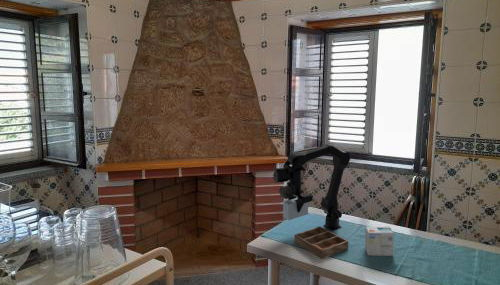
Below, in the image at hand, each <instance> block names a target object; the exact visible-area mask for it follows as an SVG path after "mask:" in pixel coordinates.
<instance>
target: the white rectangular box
mask: <svg viewBox="0 0 500 285" xmlns="http://www.w3.org/2000/svg"><path fill="white" fill-rule="evenodd" d="M297 198H298V197H296V198H295V199H291V200H288V199H287V200H285V201H283V202H282V213H283V214H282V215H283V217H282V218H283V219H286V220H287V221H290V220H291V221H292V220H294V219H297V218H301V217H303V216H307V215H309V202H307V203H304V205H303V207H302V209H301V211H300V212H299V213H298V212H297V203H296V202H295V201H294V200H297Z"/></svg>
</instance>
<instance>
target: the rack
mask: <svg viewBox="0 0 500 285" xmlns="http://www.w3.org/2000/svg"><path fill="white" fill-rule="evenodd" d="M293 236H294V243H296V244H297V245H299V246H300V247H302V248H303V249H306V251H308V252H309V253H312V254H313V255H315V256H316V257H318V258H320V259H325V258H328V257H331V256H333V255H335V254H338V253H341V252H343V251H345V250H348V249H349V240H348V239H345V238H343V237H341V236H340V235H337V234H336V233H333V232H331V231H330V230H329V229H326V228H324V227H322V226H316V227H314V228H311V229H308V230H305V231H302V232H299V233H296V234H294V235H293Z"/></svg>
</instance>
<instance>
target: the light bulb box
mask: <svg viewBox="0 0 500 285" xmlns="http://www.w3.org/2000/svg"><path fill="white" fill-rule="evenodd" d="M364 229H365V230H364V232H365V237H364V238H365V239H364V250H365V251H366V254H367V256H377V257H378V256H379V257H380V256H381V257H382V256H383V257H384V256H385V257H386V256H387V257H388V256H389V257H393V256H394V235H395V233H394V231H393V230H392V228H391V227H390V225H389V226H368V225H367V226H365V228H364Z"/></svg>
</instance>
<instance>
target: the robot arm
mask: <svg viewBox="0 0 500 285" xmlns="http://www.w3.org/2000/svg"><path fill="white" fill-rule="evenodd" d="M327 155H330V156H331V157H332V165H333V170H332V174H331V178H330V183H329V186H328V191H327V194H326V196H325V197H324V196H322V197H321V202H320V209H321V210H322V211H323V212H324V214H325V222H324V224H323V227H325V228H328V230H331V231H334V230H337V229H340V228H342V225H340V218H342V216H343V213H342V212H341V211H340V210H339V202H338V194H339V190H340V187H341V182H342V178H343V174H344V170H345V169H346V168H347V167H348V166H349V163H350V160H351V155H350V154H349V153H348V152H347V151H343V150H341V149H339V148H337V147H335V146H334V145H333V144H330V143H329V144H328V143H327V144H324V145H322V146H318V147H315V148H313V149H310V150H306V151H303V152H301V151H298V152H292V153H289V155H288V157H287V159H286V161H285V163H284V164H283V165H282V167H275V168H274V171H273V174H272V178H273V182H274V183H275V184H278V183H284V182H285V183H286V182H287V183H286V185H285V186H281V187H280V188H279V190H278V193H279V195H280V197H281V198H283V199H285V200H287V201H288V200H291V199H295V198H297V200H294V201H295V202H296V203H297V212H298V213H299V212H300V211H301V209H302V207H303V205H304V203H307V202H308V203H310V202H313V201H314V198H313V195H311V194H309V193H306V192H305V193H304V190H303V189H302V188H303V187H302V185H304V181H302V172H303V171H306V168H305V167H304V165H306V164H307V163H308V162H309V161H312V160H314V159H317V158H320V157H321V158H322V157H323V156H327Z"/></svg>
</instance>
